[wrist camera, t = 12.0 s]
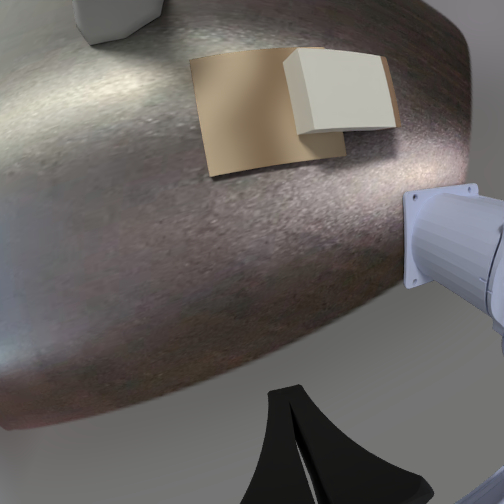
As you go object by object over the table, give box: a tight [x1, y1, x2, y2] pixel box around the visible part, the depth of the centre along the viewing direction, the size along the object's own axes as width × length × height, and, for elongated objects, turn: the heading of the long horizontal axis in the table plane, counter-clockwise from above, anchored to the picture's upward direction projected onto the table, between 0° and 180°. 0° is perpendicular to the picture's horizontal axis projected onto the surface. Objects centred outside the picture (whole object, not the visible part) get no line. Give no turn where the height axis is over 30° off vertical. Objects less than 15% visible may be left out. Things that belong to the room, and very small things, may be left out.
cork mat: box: [189, 47, 347, 177], centre depth 16 cm, size 9×8×1 cm
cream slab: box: [283, 48, 401, 135], centre depth 15 cm, size 2×5×6 cm
